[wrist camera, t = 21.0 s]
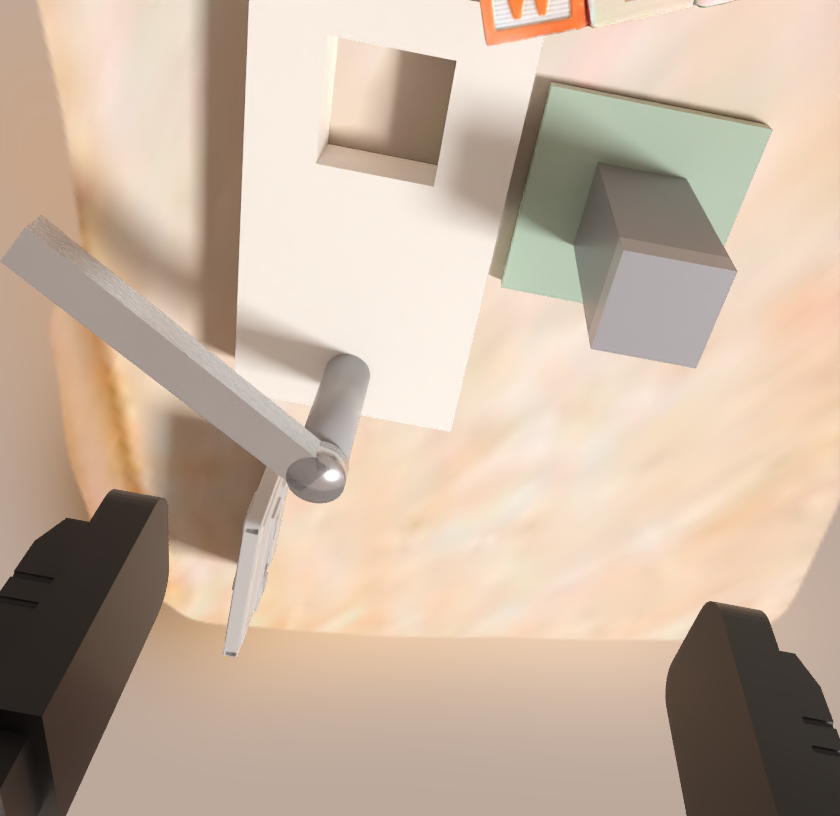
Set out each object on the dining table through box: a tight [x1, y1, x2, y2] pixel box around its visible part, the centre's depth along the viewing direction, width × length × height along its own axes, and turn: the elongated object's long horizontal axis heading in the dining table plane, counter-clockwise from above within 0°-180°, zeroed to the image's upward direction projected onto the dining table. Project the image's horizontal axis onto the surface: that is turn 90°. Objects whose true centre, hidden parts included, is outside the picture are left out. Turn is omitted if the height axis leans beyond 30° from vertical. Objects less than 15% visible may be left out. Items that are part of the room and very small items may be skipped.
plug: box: [574, 162, 737, 368], centre depth 34 cm, size 4×4×10 cm
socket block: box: [235, 0, 545, 462], centre depth 36 cm, size 21×12×10 cm, turn 170°
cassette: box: [223, 466, 288, 658], centre depth 49 cm, size 12×2×8 cm, turn 166°
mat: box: [501, 82, 772, 303], centre depth 39 cm, size 10×10×1 cm
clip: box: [0, 215, 349, 503], centre depth 33 cm, size 16×3×1 cm, turn 45°
